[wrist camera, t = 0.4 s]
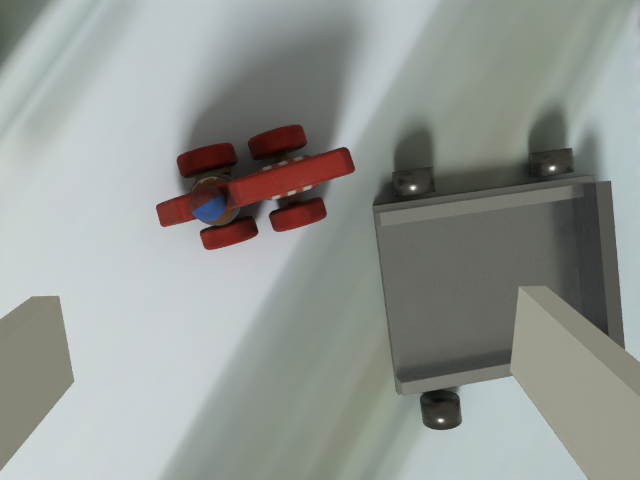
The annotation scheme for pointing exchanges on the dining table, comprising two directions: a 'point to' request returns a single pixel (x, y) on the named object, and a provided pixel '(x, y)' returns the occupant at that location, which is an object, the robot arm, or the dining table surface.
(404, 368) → the chassis bay
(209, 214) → the red plastic toy vehicle
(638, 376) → the robot arm
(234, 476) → the dining table surface
